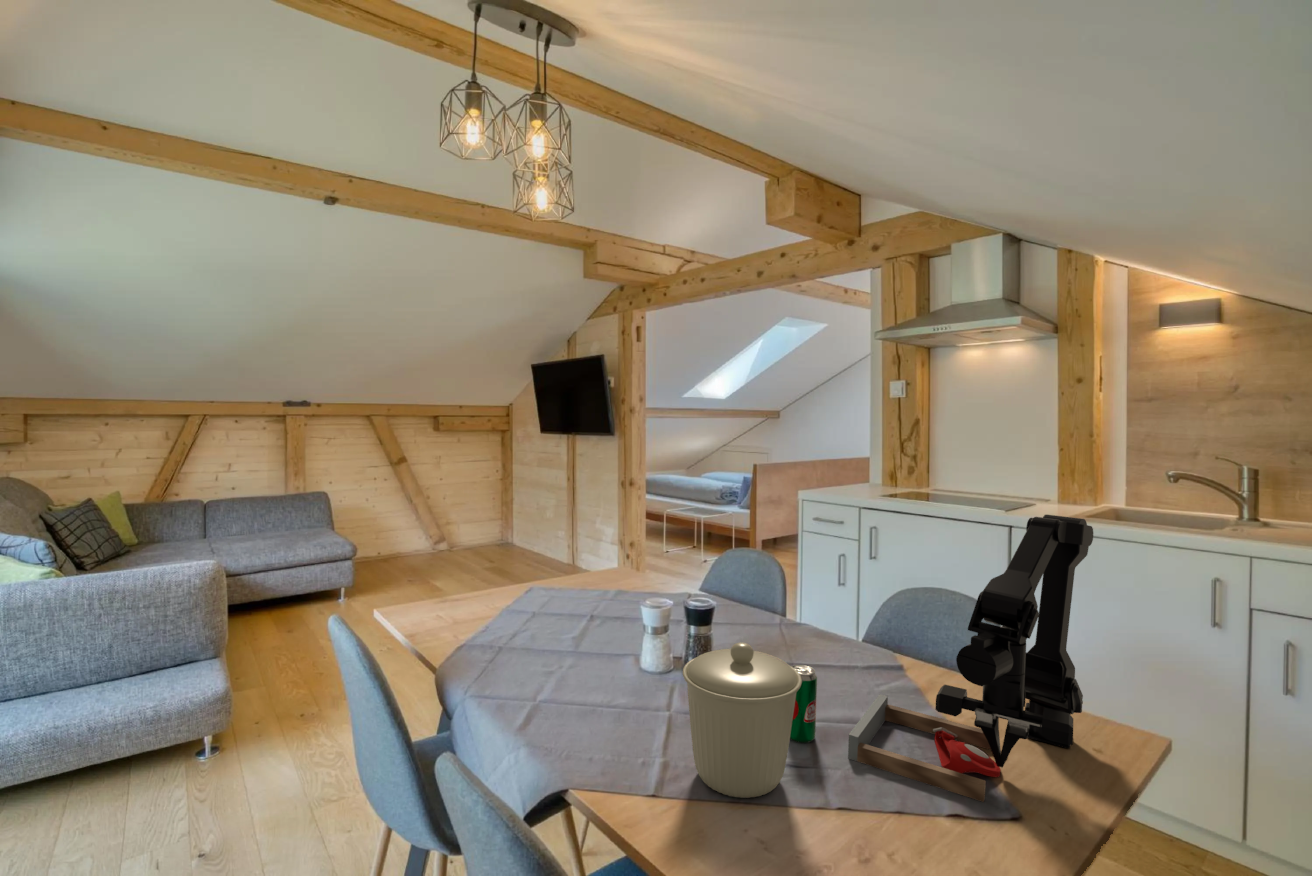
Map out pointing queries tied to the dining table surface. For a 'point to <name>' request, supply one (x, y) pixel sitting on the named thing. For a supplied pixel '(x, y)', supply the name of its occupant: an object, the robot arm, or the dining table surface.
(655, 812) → the dining table surface
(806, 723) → the soda can
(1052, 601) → the robot arm
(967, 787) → the walnut channel
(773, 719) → the canister
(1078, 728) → the dining table surface
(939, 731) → the tracker holder
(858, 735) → the end stop
